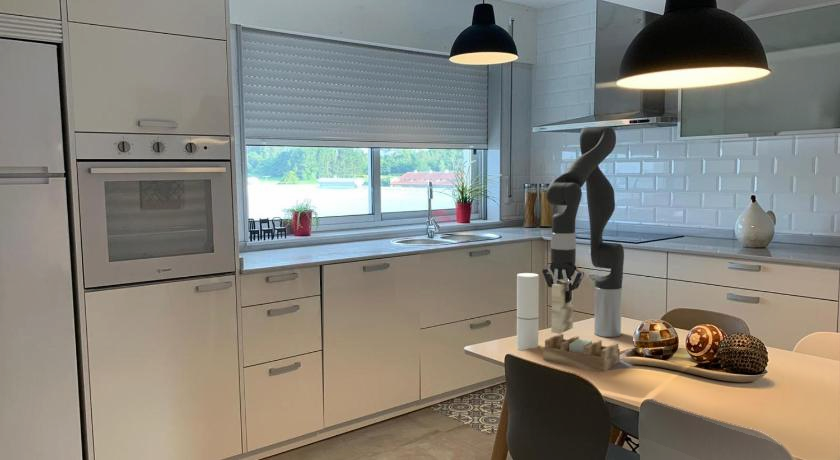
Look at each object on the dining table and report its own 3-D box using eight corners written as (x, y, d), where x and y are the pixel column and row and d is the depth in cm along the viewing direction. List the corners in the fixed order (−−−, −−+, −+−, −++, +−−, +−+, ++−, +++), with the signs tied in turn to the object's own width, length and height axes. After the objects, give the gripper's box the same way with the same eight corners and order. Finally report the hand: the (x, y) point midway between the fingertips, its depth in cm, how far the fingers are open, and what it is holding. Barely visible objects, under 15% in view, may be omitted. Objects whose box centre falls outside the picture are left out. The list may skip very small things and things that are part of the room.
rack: (561, 353, 213) (562, 332, 212) (619, 364, 200) (619, 342, 200) (543, 363, 203) (543, 341, 202) (602, 375, 191) (602, 351, 190)
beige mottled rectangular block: (564, 326, 209) (565, 280, 208) (572, 328, 207) (573, 281, 206) (551, 332, 202) (551, 284, 201) (559, 333, 200) (560, 285, 199)
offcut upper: (577, 347, 205) (577, 338, 205) (591, 349, 203) (592, 340, 202) (569, 352, 200) (569, 344, 199) (583, 355, 197) (583, 346, 197)
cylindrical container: (537, 345, 222) (537, 273, 220) (539, 351, 215) (539, 276, 213) (516, 345, 223) (516, 273, 220) (517, 351, 216) (517, 276, 213)
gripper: (589, 247, 201) (588, 302, 202) (548, 244, 209) (548, 297, 211) (578, 250, 195) (578, 306, 197) (537, 246, 204) (536, 301, 205)
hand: (562, 301), depth 204 cm, fingers closed on beige mottled rectangular block, 2 cm apart
